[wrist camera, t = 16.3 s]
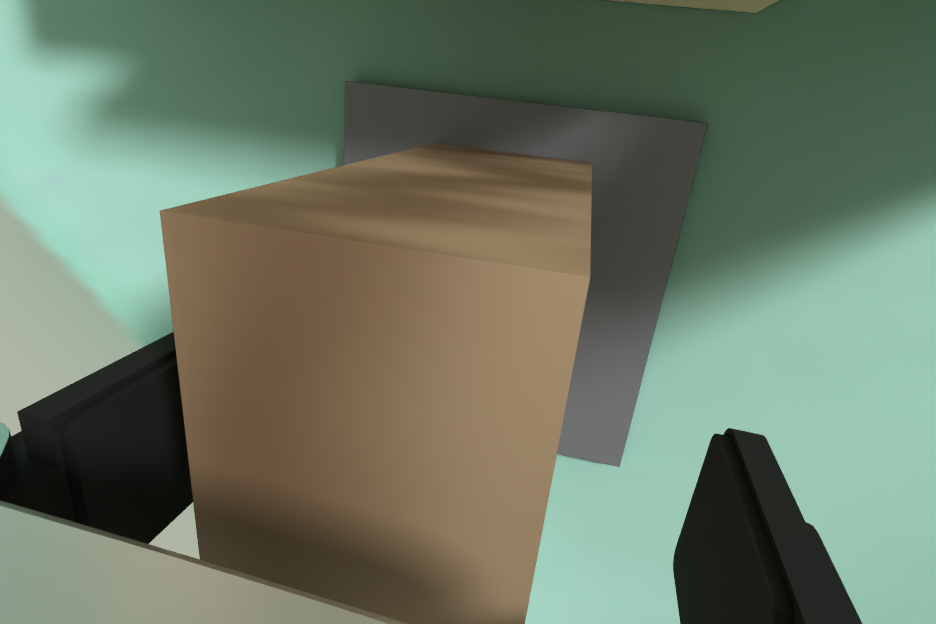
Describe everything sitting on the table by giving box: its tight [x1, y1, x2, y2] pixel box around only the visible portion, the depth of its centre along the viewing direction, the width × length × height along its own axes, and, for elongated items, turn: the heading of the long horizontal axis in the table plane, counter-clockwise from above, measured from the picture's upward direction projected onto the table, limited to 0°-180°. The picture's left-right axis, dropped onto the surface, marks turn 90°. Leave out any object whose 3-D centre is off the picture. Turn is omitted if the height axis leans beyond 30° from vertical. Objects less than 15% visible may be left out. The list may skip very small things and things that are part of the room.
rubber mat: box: [344, 81, 708, 467], centre depth 19 cm, size 11×12×1 cm
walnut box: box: [160, 143, 592, 624], centre depth 13 cm, size 5×9×12 cm, turn 175°
